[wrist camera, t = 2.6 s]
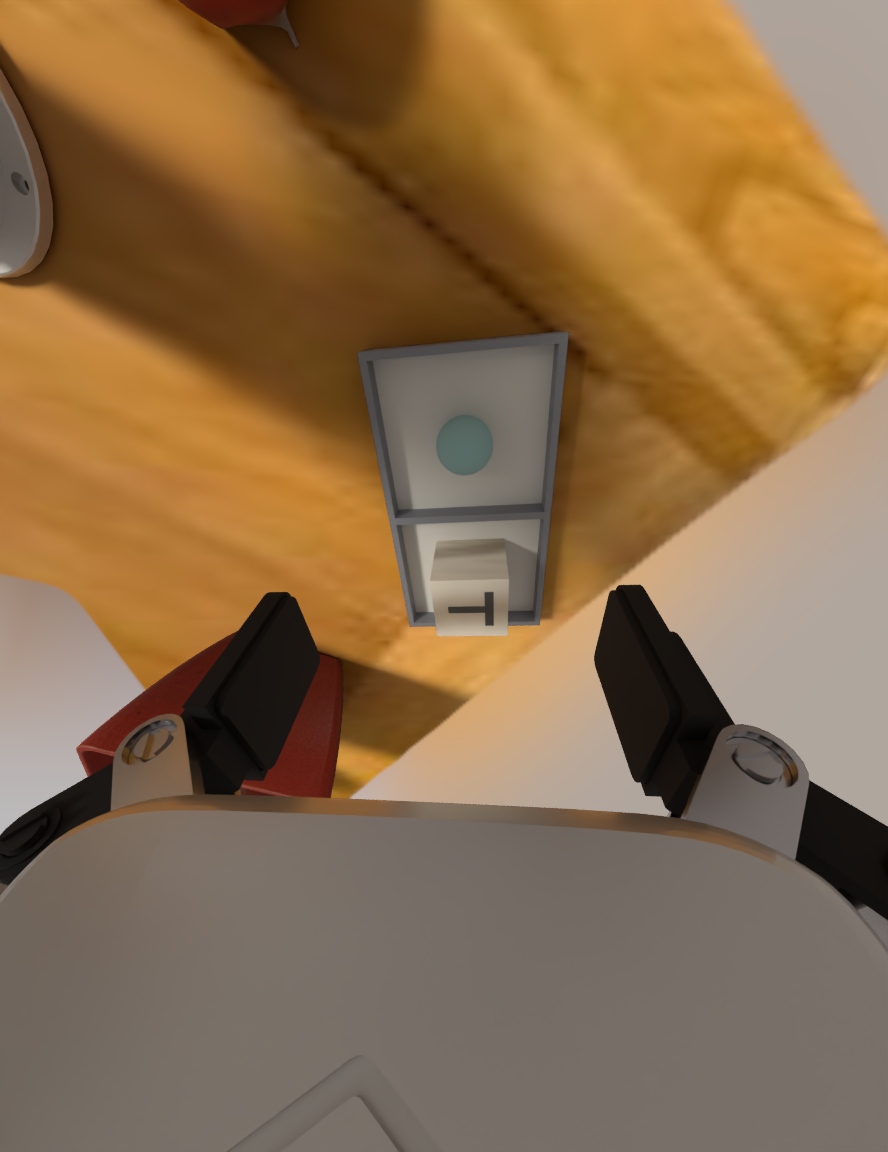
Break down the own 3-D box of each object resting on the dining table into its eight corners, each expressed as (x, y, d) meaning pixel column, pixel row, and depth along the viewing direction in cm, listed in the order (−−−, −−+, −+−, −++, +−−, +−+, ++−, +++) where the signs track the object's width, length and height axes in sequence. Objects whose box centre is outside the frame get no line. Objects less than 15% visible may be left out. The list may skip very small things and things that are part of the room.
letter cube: (436, 540, 32) (429, 581, 28) (504, 538, 32) (509, 579, 27) (442, 592, 36) (437, 636, 31) (503, 591, 35) (507, 635, 30)
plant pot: (208, 596, 39) (68, 747, 26) (376, 650, 42) (329, 808, 29) (208, 692, 50) (110, 832, 37) (341, 728, 53) (296, 870, 40)
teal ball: (436, 411, 26) (430, 425, 23) (491, 406, 26) (494, 421, 22) (441, 465, 28) (436, 485, 25) (492, 462, 28) (494, 482, 25)
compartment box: (365, 349, 24) (357, 352, 23) (562, 331, 23) (568, 332, 21) (412, 613, 38) (409, 626, 37) (536, 611, 37) (539, 625, 35)
